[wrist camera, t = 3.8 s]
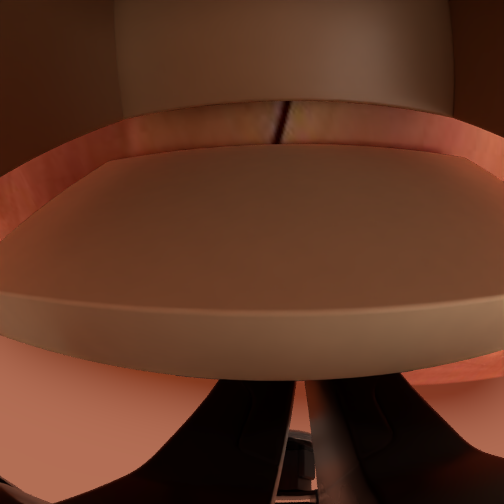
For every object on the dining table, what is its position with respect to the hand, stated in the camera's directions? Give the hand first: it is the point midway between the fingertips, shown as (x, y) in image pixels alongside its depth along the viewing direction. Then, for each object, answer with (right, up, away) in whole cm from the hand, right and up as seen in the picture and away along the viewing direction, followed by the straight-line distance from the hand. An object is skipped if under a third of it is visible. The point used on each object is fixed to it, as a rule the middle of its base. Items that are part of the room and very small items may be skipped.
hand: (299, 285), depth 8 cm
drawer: (0, +8, -2) cm, 8 cm away
